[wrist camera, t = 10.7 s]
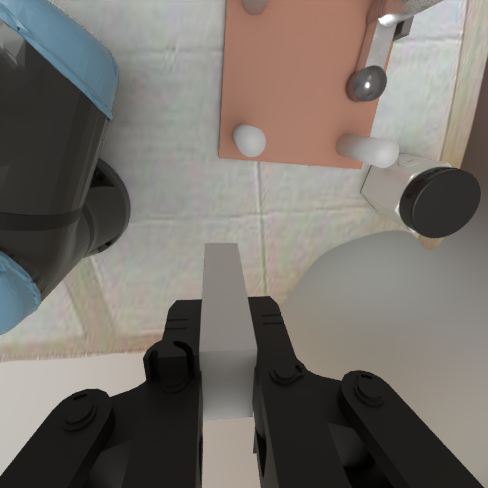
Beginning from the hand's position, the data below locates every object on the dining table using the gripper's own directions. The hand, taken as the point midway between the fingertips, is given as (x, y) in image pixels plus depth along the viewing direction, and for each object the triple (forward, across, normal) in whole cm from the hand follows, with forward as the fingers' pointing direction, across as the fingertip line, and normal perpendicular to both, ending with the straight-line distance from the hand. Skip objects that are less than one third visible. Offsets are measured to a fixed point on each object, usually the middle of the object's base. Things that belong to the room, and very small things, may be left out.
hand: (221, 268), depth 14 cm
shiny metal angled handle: (+26, +18, +14) cm, 35 cm away
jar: (+29, +26, -2) cm, 39 cm away
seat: (+29, +11, +11) cm, 33 cm away
